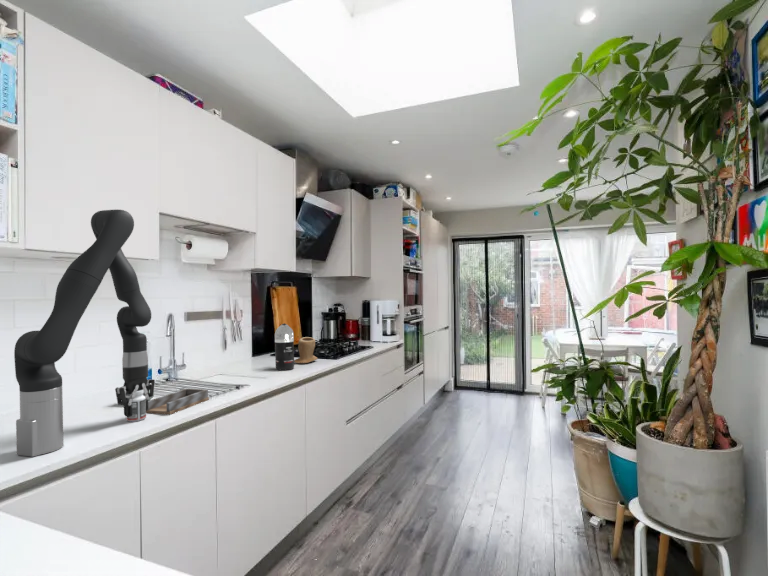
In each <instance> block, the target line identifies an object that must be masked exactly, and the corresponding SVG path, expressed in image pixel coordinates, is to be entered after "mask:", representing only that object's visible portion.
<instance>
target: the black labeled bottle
mask: <svg viewBox="0 0 768 576" xmlns="http://www.w3.org/2000/svg"><path fill="white" fill-rule="evenodd" d="M294 334H295V333H294V330H293V329H292V327H290V326H289V325H288V324H287V323H282V324H280V326H278V327H277V328H276V330H275V333H274V351H275V352H274V353H275V355H274V358H275V360H274V363H275V370H277V371H289V370H290V371H291V370H293V369H294V368H295V362H294V360H295V347H294V345H295V344H294V342H295V339H294V337H295V335H294Z"/></svg>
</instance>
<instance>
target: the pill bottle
mask: <svg viewBox="0 0 768 576" xmlns="http://www.w3.org/2000/svg"><path fill="white" fill-rule="evenodd" d="M143 393H144V390H139V391H137V392H136V395H135V398H134V399H133V400H132V403H131V405H132V416H130V417H126V421H127V422H131V423H132V422H133V423H135V422H140V421H143V420H145V419H146V418H147V413H146V398H145V396H144V395H143ZM128 396H131V394H128ZM128 400H129V399H128ZM127 402H128V401H127Z"/></svg>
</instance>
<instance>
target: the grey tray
mask: <svg viewBox="0 0 768 576" xmlns="http://www.w3.org/2000/svg"><path fill="white" fill-rule="evenodd" d="M206 401H210V398H209V389H203V388H202V389H201V388H184V389H181V390H178V391H175V392H171V393H169V394H166V395H162V396H159V397H156V398H152V399H151V400H149V401H148V409H147V411H146V414H156V415H167V414H171V415H173V414H176V413H179V412H181V411H184V410H186V409H189V408H191V407H193V406H197V405H199V404H202V403H204V402H206ZM201 402H202V403H201ZM196 404H197V405H196ZM178 411H179V412H178ZM175 412H176V413H175Z"/></svg>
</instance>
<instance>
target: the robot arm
mask: <svg viewBox="0 0 768 576" xmlns="http://www.w3.org/2000/svg"><path fill="white" fill-rule="evenodd" d="M90 227H91V230H92V232H93V235H94V236H95V239H96V240H95V241H94V242H93V244H91V246H89V247H88V248H87V249H86V250H85V251H83V252H82V253H81V254H80V255H79V256H78V257H76V258H75V259H74V260H73V261H72V262H71V263H70V264H69V266H68V267H67V269H66V271H65V272H64V274H62V277H60V280H59V282H58V284H57V286H56V290H55V295H54V296H55V297H54V303H53V308H52V310H51V313H50V315H49V317H48V318H47V319H46V321H45V323H44V325H43V326H42V327H41V328H40V329H39V330H31V331H28V332H25V333H23V334H21V335H20V337H18V339H17V340H16V342H15V345H14V352H13V354H14V356H13V357H14V371H15V379H16V381H17V383H18V386H19V389H18V390H19V418H18V419H16V421H15V429H16V431H15V432H16V436H15V437H16V455H17V456H24V457H32V458H33V457H36V456H39V455H44V454H49V453H52V452H55V451H57V450H60V449H62V448H63V447H64V443H65V441H64V408H63V407H64V406H63V377H62V375H61V374H60V373H59V372H58V370H57V368H56V364H55V363H56V362H58V361H60V359H62V358H63V357H64V355H65V354H66V352H67V350H68V349H69V347H70V344H71V341H72V338H73V336H74V334H75V331H76V329H77V327H78V324H79V322H80V320H81V319H82V317H83V315H84V313H85V312H86V310H87V308H88V306H89V305H90V302H91V301H92V299H93V298H94V296H95V294H96V292H97V291H98V289H99V287H100V285H101V283H102V282H103V279H104V277H105V275H106V274H107V272H108V270H109V272H110V273H109V274H110V276H111V279H112V282H113V287H114V291H115V294H116V297H117V299H118V301H120V302H123V303H126V304H127V305H128V306H127V305H126V306H122V307H121V308H119V310H118V312H117V314H116V323H117V328H118V331H119V333H120V337H121V339H122V351H123V353H122V361H121V363H122V379H123V381H124V382H123V385H122V386H120V387H119V386H118V387H115V389H114V390H115V396H116V402H117V405H118V406H123V415H124V416H125V417H126V418H127V417H130V416H132V405H131V403H132V400H133V399H134V398H135V395H136V392H137V391H139V390H144V393H143V395H144V396H145V398H146V411H147V409H148V399H149V398H150V397H152V396H153V392H154V393H155V391H154V390H155V382H156V381H155V379H151V378H150V379H148V376H149V355H148V343H147V340H148V339H147V336H146V334H144V333H141V332H139V331H138V328H141V327H142V328H143V327H146V326H148V324H150V322H151V320H152V311H151V308H150V306H149V304H148V302H147V300H146V299H145V297H144V295H143V294H142V292H141V287H140V283H139V280H138V275H137V273H136V271H135V269H134V267H133V266H132V264H131V263H130V262H129V259H128V258H127V257H126V256H125V254H124V252H123V250H122V248H123V247H124V245H125V243H126V242H127V241H128V240H129V238H130V236H132V233H133V231H134V227H135V220H134V217H133V215H132V214H131V213H130V212H128V211H127V210H124V209H104V210H103V209H102V210H98V211H96V212H95V213H93V215H92V216H91V218H90ZM149 390H150V393H149ZM128 394H131V396H128ZM153 397H154V396H153ZM128 399H129V400H128ZM127 401H128V402H127Z"/></svg>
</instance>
